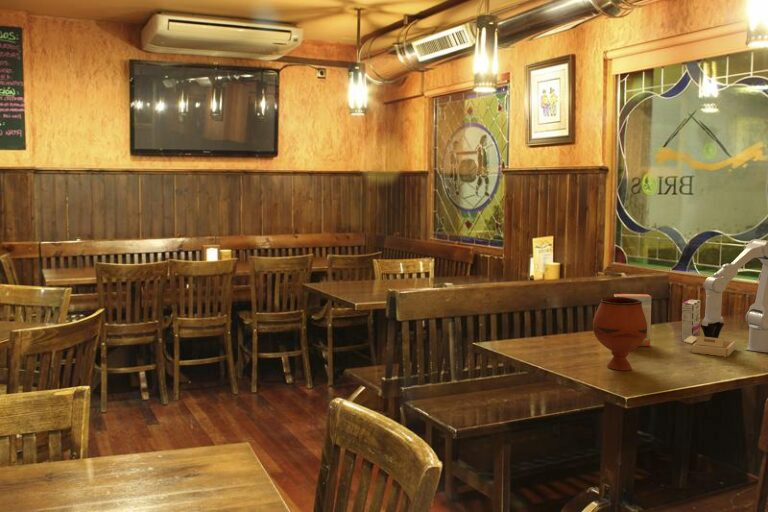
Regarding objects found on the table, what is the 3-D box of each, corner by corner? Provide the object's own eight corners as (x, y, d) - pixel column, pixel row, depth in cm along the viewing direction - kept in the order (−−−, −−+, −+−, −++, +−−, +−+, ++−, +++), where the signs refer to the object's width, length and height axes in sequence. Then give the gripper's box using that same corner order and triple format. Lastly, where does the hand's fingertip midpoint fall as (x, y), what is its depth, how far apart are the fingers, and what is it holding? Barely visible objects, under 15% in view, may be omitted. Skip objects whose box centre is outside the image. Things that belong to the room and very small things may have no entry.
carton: (735, 349, 308) (735, 340, 307) (727, 357, 294) (728, 348, 294) (700, 345, 315) (701, 337, 315) (691, 352, 301) (692, 344, 301)
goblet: (604, 358, 292) (606, 293, 289) (654, 366, 280) (657, 299, 277) (582, 368, 277) (584, 300, 274) (634, 377, 265) (637, 306, 262)
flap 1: (690, 335, 315) (690, 336, 315) (683, 340, 304) (683, 341, 304) (698, 337, 313) (698, 338, 313) (691, 342, 302) (691, 343, 302)
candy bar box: (687, 336, 331) (689, 299, 329) (699, 338, 328) (701, 300, 326) (680, 341, 322) (681, 302, 320) (692, 342, 319) (694, 303, 317)
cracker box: (646, 343, 318) (648, 293, 315) (650, 346, 312) (652, 296, 309) (612, 342, 319) (613, 293, 317) (615, 346, 313) (616, 295, 311)
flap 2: (696, 335, 300) (696, 335, 300) (723, 338, 295) (723, 338, 295) (696, 344, 300) (696, 344, 300) (722, 347, 295) (722, 347, 294)
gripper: (715, 310, 291) (713, 345, 293) (731, 306, 301) (729, 340, 303) (697, 308, 296) (695, 342, 298) (713, 304, 306) (711, 337, 308)
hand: (711, 341), depth 301 cm, fingers open, 4 cm apart
